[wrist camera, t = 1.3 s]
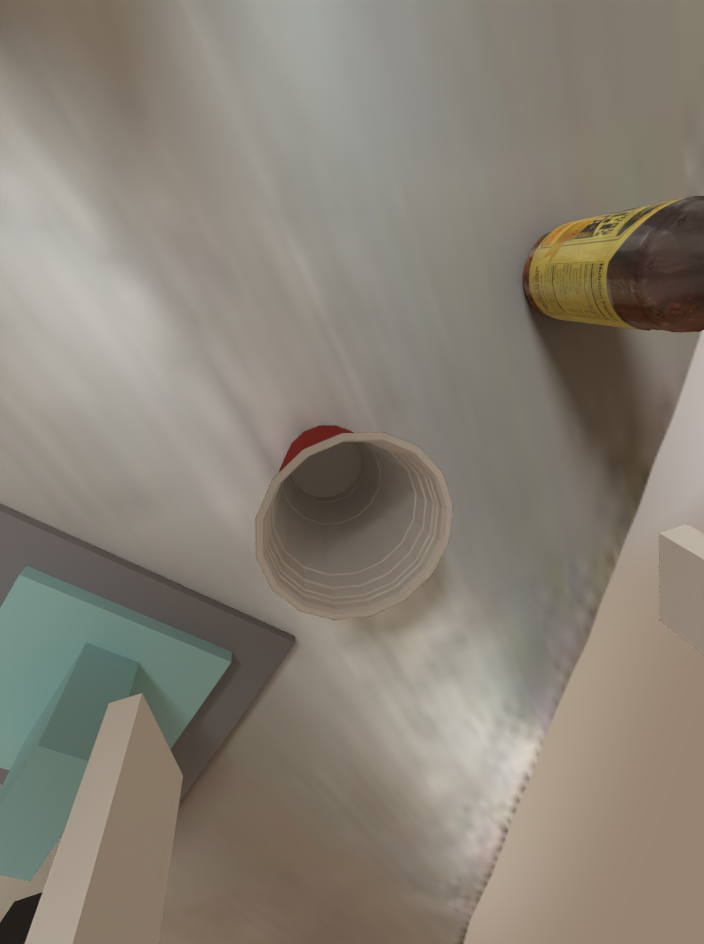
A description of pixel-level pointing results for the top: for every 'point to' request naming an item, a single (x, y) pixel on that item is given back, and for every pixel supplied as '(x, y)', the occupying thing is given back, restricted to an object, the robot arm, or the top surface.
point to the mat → (92, 569)
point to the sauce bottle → (624, 268)
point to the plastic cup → (352, 523)
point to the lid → (78, 698)
